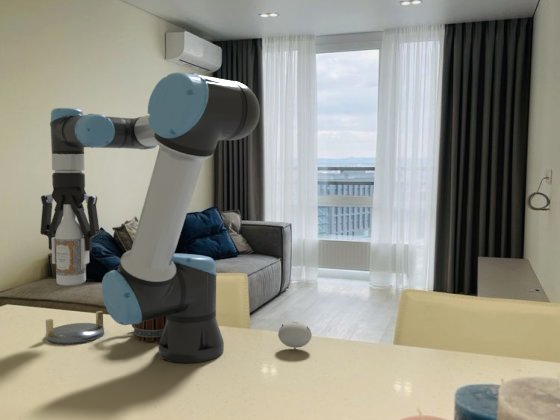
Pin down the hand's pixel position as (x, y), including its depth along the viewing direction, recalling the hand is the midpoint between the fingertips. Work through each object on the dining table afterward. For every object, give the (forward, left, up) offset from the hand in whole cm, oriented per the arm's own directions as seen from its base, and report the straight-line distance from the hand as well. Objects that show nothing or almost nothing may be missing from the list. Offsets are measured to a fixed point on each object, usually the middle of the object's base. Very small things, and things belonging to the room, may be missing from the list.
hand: (70, 262), depth 133 cm
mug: (-18, -5, -19) cm, 27 cm away
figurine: (-57, +1, -19) cm, 60 cm away
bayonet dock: (0, -1, -19) cm, 19 cm away
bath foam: (0, 0, -5) cm, 5 cm away
